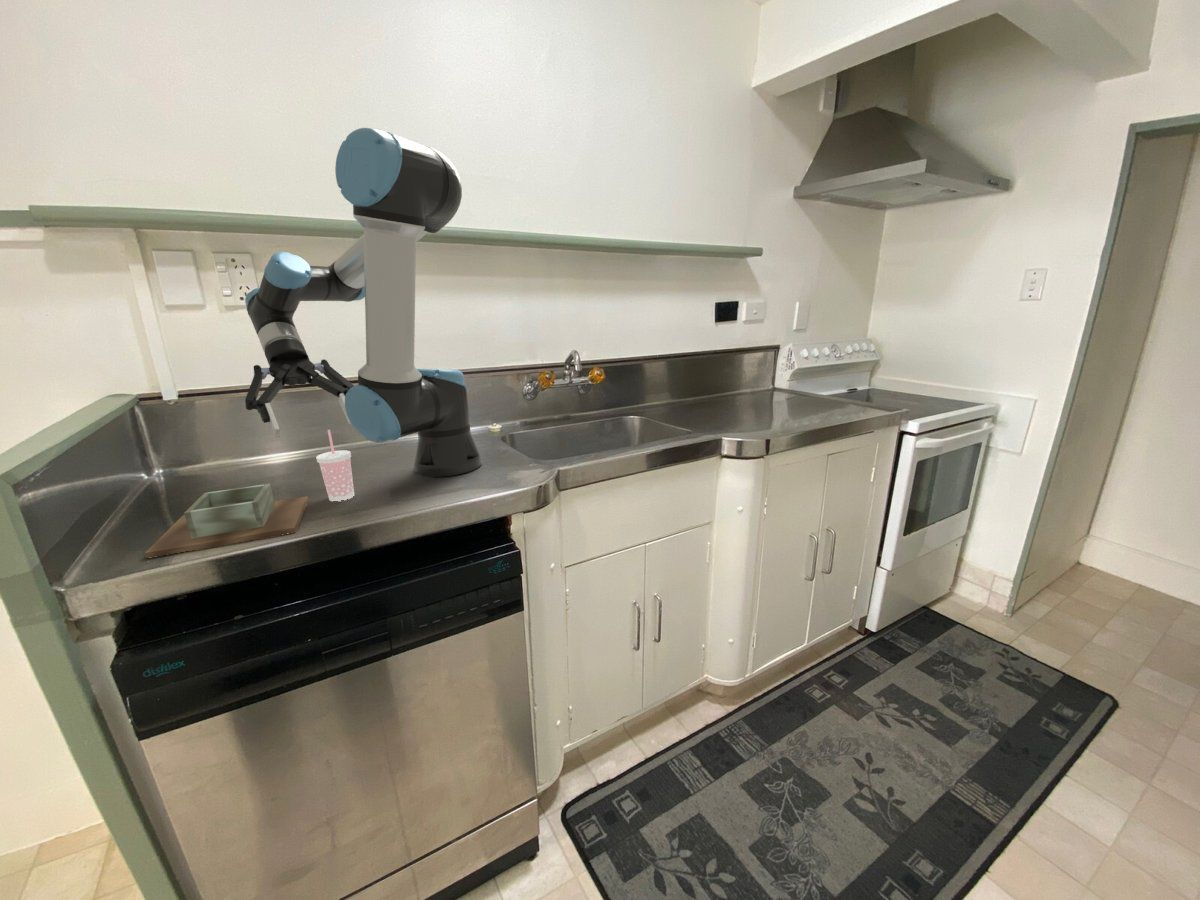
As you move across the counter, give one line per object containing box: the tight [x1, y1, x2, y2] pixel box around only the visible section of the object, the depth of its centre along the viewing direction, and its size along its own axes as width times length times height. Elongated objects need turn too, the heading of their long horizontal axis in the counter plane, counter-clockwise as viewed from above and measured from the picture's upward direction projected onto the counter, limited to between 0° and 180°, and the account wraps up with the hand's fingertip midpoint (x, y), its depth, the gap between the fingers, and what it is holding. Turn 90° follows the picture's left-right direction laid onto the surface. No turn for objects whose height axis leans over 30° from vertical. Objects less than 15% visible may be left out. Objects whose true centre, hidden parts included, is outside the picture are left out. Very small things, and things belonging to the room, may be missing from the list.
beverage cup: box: [315, 429, 355, 502], centre depth 96 cm, size 6×6×14 cm
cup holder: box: [144, 483, 309, 558], centre depth 85 cm, size 20×16×6 cm
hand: (316, 427), depth 99 cm, fingers open, 13 cm apart
